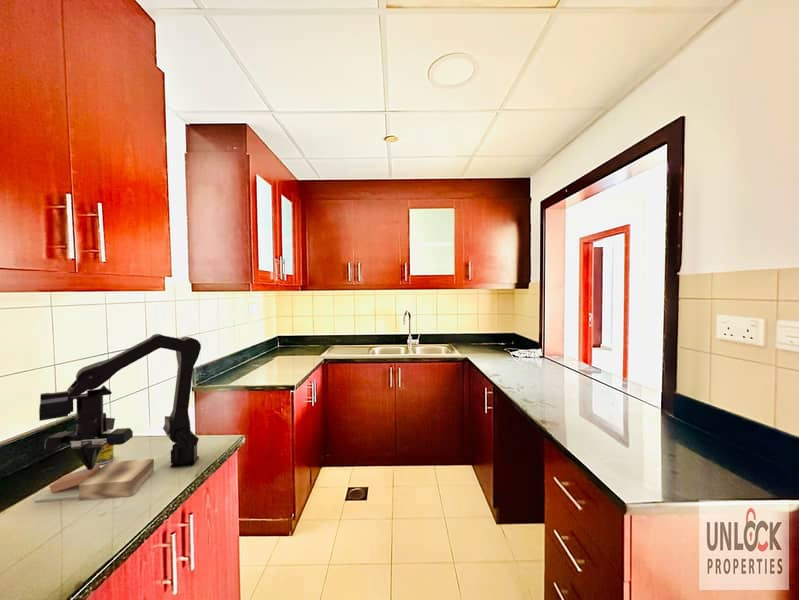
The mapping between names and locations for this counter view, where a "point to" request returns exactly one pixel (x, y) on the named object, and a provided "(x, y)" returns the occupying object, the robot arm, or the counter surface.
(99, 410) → the robot arm
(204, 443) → the counter surface
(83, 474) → the terracotta tile
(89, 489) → the block
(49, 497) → the sage mat
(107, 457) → the supplement bottle
